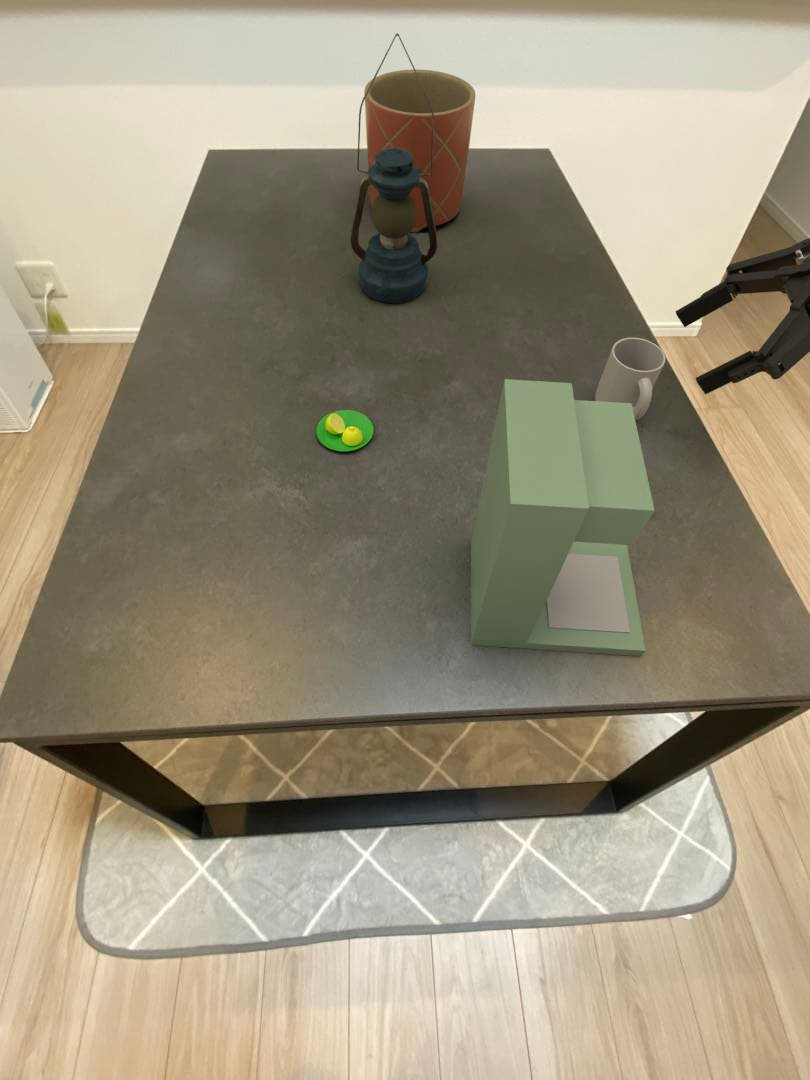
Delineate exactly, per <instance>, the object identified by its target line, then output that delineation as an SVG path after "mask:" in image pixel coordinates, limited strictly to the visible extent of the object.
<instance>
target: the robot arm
mask: <svg viewBox="0 0 810 1080" xmlns="http://www.w3.org/2000/svg"><path fill="white" fill-rule="evenodd" d="M725 270H726V277H725V278H724V279H723V281H722V282H720V283H718V284H717V285H715V286H713V287H712V288H710V289H709V290H706V291H705V292H703V293H702V294H701V295H700V296H699V297H697V298H696V299H694V300H692V301H691V302H689V303H687V304H685V305H684V306H682V307H680V308H679V309H677V310H675V315H676V316H677V318H678V320H679V322H681V324H682V326H683V328H686V327H688V326H690V325H692V324H693V323H695V322H697V321H699V320H701V319H702V318H704V317H706V316H708V315H709V314H711V313H714V312H715V311H717V310H719V309H720V308H723V307H724V306H726V305H727V304H729V303H731V302H732V301H734V299H736V298H737V296H738V295H744V294H745V295H746V294H761V293H776V292H780V293H782V294H785V295H787V298H788V300H789V302H790V305H789V306H790V307H789V311H788V312H787V314H786V315H785V316H784V317H783V319H782V320H781V321H780V322H779V324H778V325H777V326H776V327H775V329H774V330H773V332H772V333H771V334H770V336H769V337H768V338H767V339H766V340H765V342H764V343H763V344H762V345H761V347H760V348H759V349H758V351H757V350H749V351H746V352H744V353H742V354H741V355H738V356H737V357H735V358H733V359H731V360H728V361H727V362H724V363H722V364H720V365H718V366H716V367H715V368H713V369H711V370H708V371H707V372H705V373H702V374H701V375H698V376H696V377H695V381H696V384H697V385H698V387H699V388H700V389H701V391H702V392H703V394H704V395H707V394H709V393H712V392H714V391H716V390H718V389H720V388H722V387H724V386H726V385H729V384H731V383H732V384H738V383H740V382H742V381H744V380H746V379H748V378H750V377H752V376H754V375H756V374H759V373H766V374H767V375H768V376H770V377H771V379H772V380H778V379H781V378H782V377H783V376H784V375H785V374H786V373H787V372H789V371H790V370H791V369H792V368H793V367H794V366H796V365H797V364H798V363H799V362H800V361H801V360H803V358H804V357H805V356H807V355H808V354H809V353H810V237H807V238H806V239H803V240H801V241H799V242H797V243H795V244H793V245H792V246H789V247H786V248H782V249H778V250H775V251H771V252H768V253H765V254H762V255H757V256H755V257H751V258H747V259H744V260H741V261H737V262H734V263H731V264H729V265H728V266H726V269H725Z"/></svg>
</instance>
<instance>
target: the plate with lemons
mask: <svg viewBox="0 0 810 1080" xmlns="http://www.w3.org/2000/svg"><path fill="white" fill-rule="evenodd" d="M315 431H316V437H317V440H318V441H319V442H320V443H321V444H322V445H323V446H324V447H326V448H328V449H330V450H333V451H337V452H352V451H356V450H359V449H361V448H362V447H364V446H366V445H367V444H368V443H369V442H370V441H371V440H372V438H373V435H374V425H373V423H372V421H371V420H370V418H369V417H368V416H367V415H365V414H364V413H362V412H359V411H356V410H351V409H340V410H336V411H332V412H330V413H328V414H327V415H325V416H324V417H322V418H321V419H320V420H319V422H318V424H317V426H316V429H315Z"/></svg>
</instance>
